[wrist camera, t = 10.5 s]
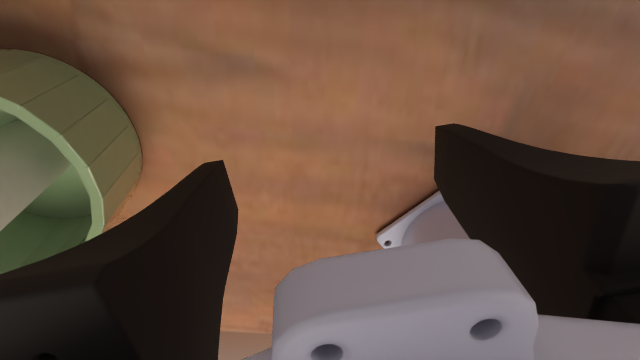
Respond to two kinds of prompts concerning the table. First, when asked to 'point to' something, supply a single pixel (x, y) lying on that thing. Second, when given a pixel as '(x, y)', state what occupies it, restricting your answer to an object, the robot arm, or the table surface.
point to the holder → (76, 145)
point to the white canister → (25, 168)
